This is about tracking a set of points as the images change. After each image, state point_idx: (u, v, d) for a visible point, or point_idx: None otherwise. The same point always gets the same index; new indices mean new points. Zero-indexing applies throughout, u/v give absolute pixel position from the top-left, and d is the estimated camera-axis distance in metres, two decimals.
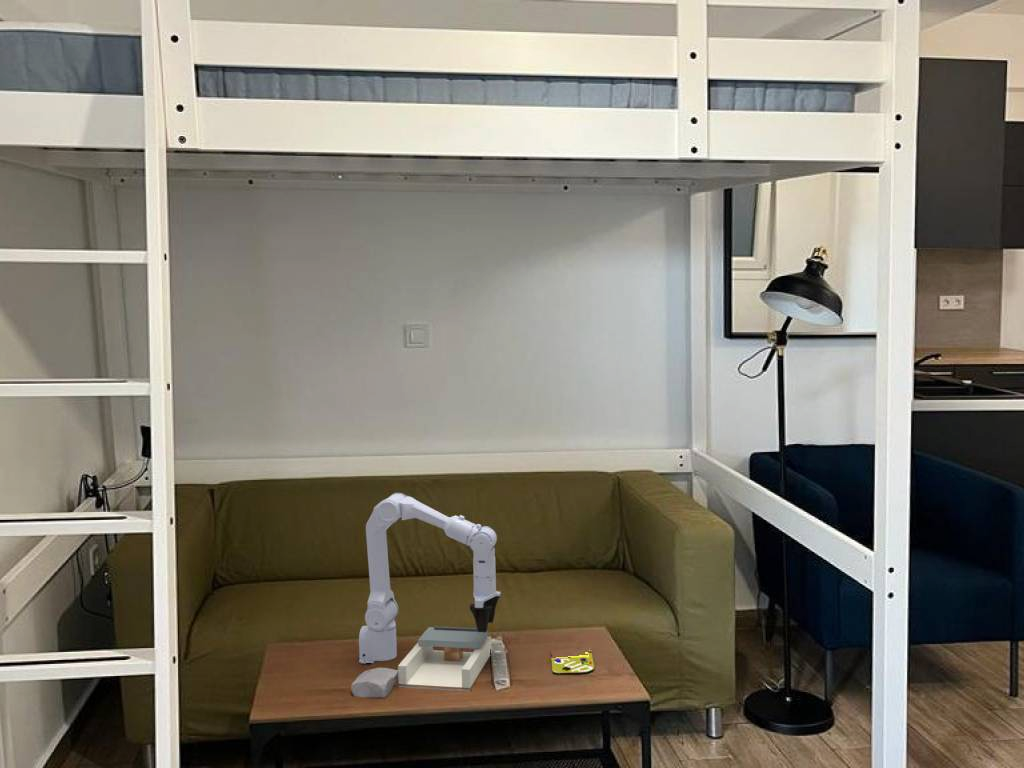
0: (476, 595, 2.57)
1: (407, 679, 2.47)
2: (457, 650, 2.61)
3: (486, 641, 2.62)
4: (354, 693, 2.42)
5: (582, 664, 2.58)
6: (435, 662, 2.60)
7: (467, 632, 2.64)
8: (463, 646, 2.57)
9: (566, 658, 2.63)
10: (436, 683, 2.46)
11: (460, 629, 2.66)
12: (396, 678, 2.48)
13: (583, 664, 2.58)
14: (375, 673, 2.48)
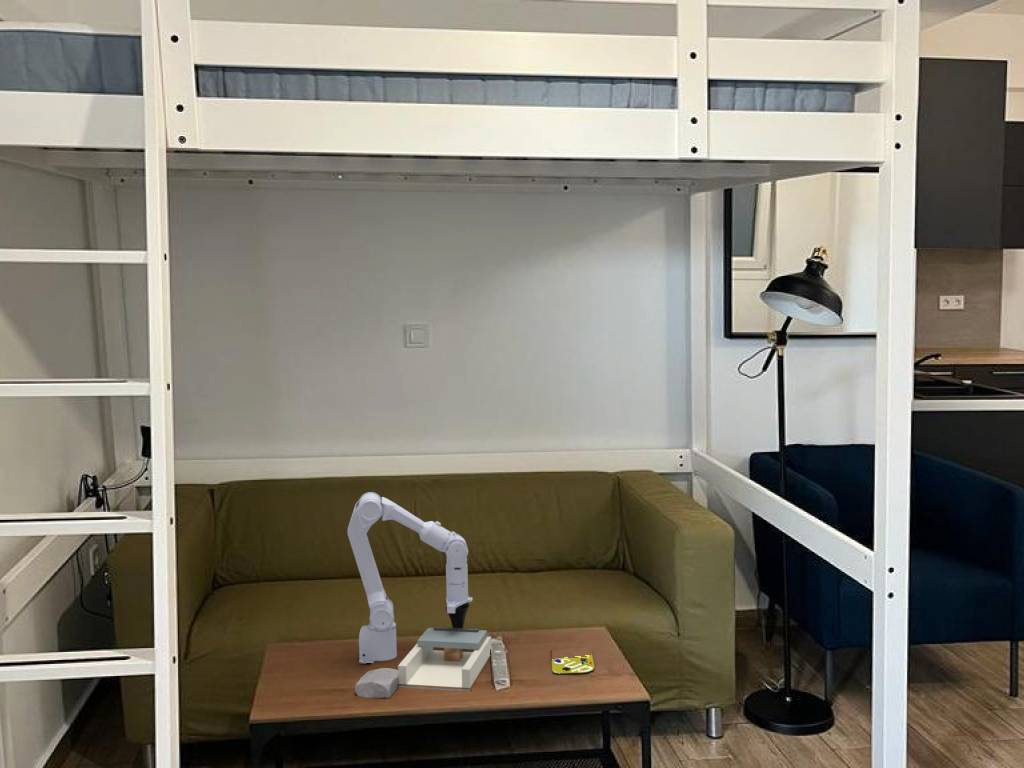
0: (449, 601, 2.65)
1: (407, 679, 2.47)
2: (457, 650, 2.61)
3: (486, 641, 2.62)
4: (358, 694, 2.42)
5: (582, 664, 2.58)
6: (435, 662, 2.60)
7: (466, 633, 2.64)
8: (462, 647, 2.57)
9: (566, 658, 2.63)
10: (436, 683, 2.46)
11: (459, 630, 2.65)
12: None
13: (583, 664, 2.58)
14: (379, 674, 2.48)
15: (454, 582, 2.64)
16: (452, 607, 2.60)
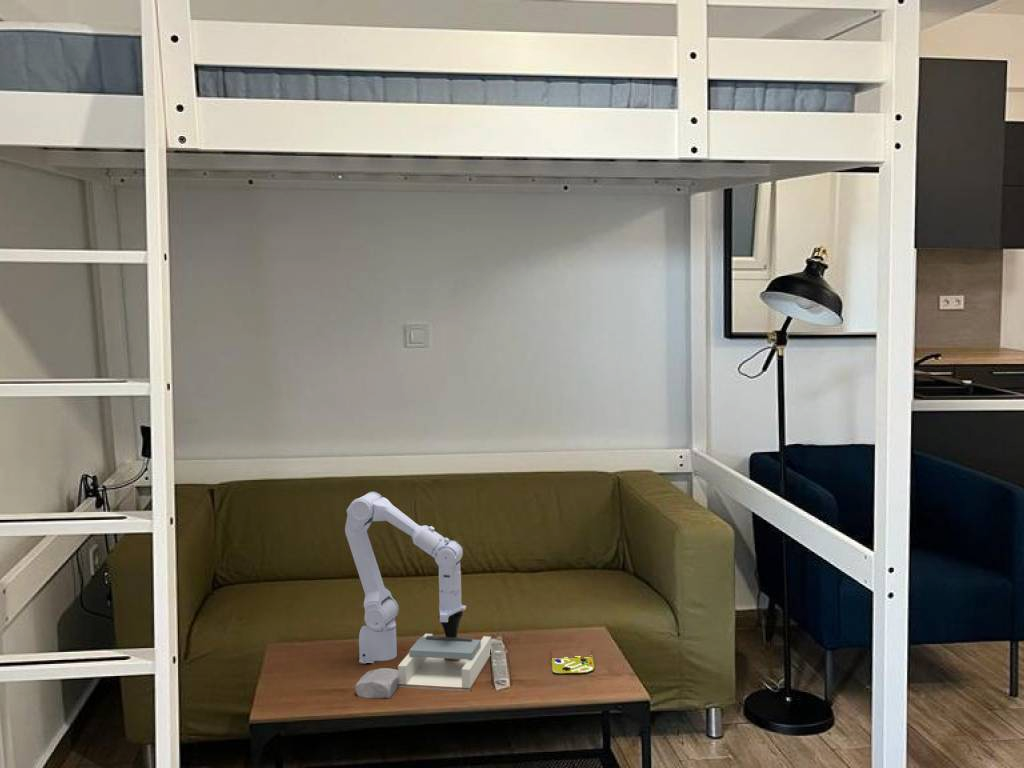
0: (441, 609, 2.58)
1: (407, 679, 2.47)
2: None
3: (486, 641, 2.62)
4: (358, 694, 2.42)
5: (582, 664, 2.58)
6: (435, 662, 2.60)
7: (459, 642, 2.57)
8: (455, 657, 2.50)
9: (566, 658, 2.63)
10: (436, 683, 2.46)
11: (453, 639, 2.58)
12: None
13: (583, 664, 2.58)
14: (379, 674, 2.47)
15: (443, 590, 2.57)
16: (445, 616, 2.53)
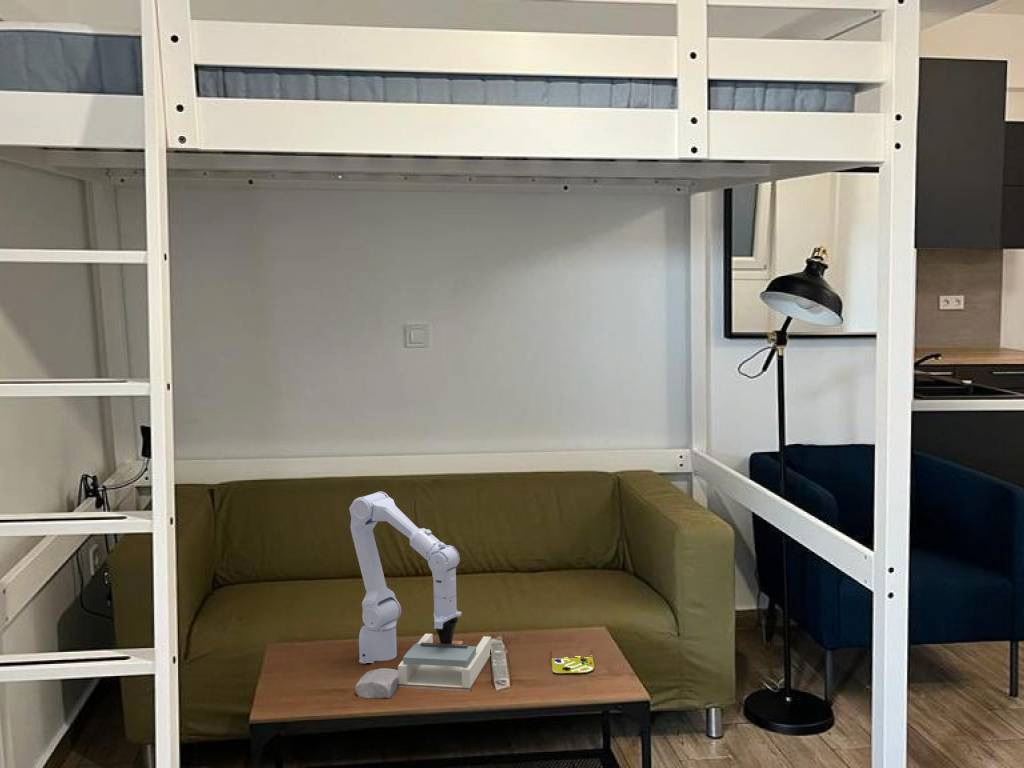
0: (436, 615, 2.53)
1: (407, 679, 2.47)
2: None
3: (486, 641, 2.62)
4: (359, 694, 2.42)
5: (582, 664, 2.58)
6: None
7: (454, 649, 2.52)
8: (450, 664, 2.45)
9: (566, 658, 2.63)
10: (436, 683, 2.46)
11: (447, 646, 2.53)
12: None
13: (583, 664, 2.58)
14: (379, 674, 2.47)
15: (436, 595, 2.53)
16: (439, 622, 2.48)
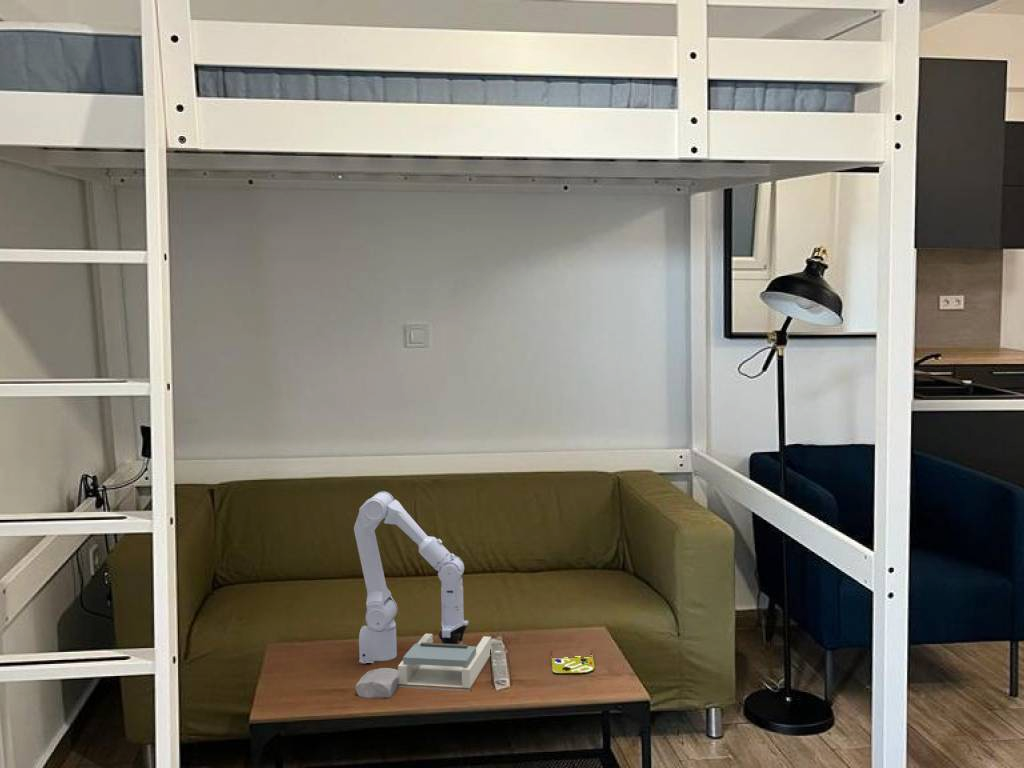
0: (444, 624, 2.60)
1: (407, 679, 2.47)
2: None
3: (486, 641, 2.62)
4: (359, 693, 2.42)
5: (582, 664, 2.58)
6: None
7: (454, 649, 2.52)
8: (450, 664, 2.45)
9: (566, 658, 2.63)
10: (436, 683, 2.46)
11: (447, 646, 2.53)
12: None
13: (583, 664, 2.58)
14: (379, 673, 2.48)
15: (447, 605, 2.60)
16: (447, 631, 2.55)
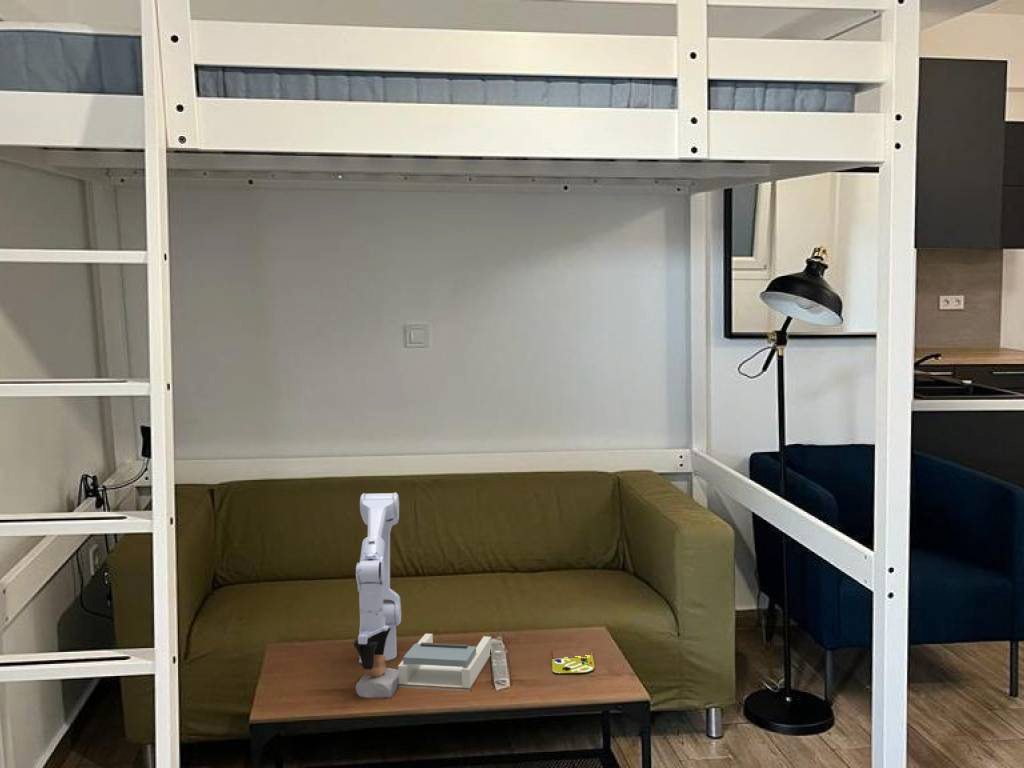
0: (362, 630, 2.43)
1: (407, 679, 2.47)
2: (378, 665, 2.44)
3: (486, 641, 2.62)
4: (359, 694, 2.42)
5: (582, 664, 2.58)
6: None
7: (454, 649, 2.52)
8: (450, 664, 2.45)
9: (567, 658, 2.63)
10: (436, 683, 2.46)
11: (447, 646, 2.53)
12: None
13: (583, 664, 2.58)
14: None
15: None
16: (363, 637, 2.38)
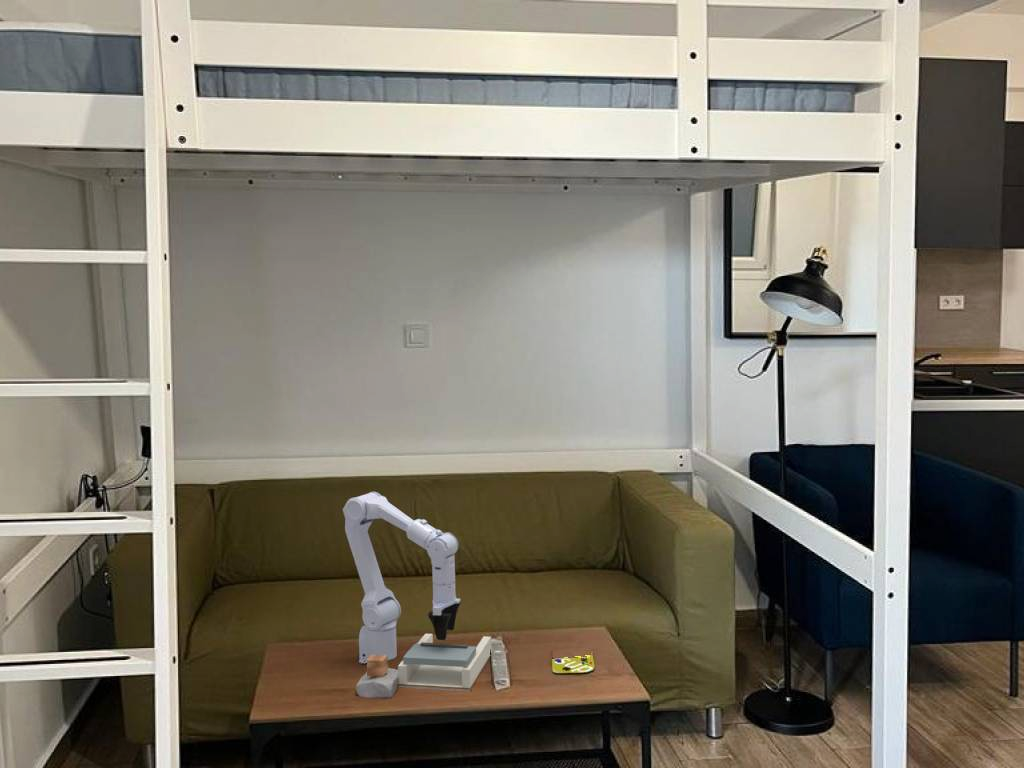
0: (435, 602, 2.54)
1: (407, 679, 2.47)
2: (380, 665, 2.44)
3: (486, 641, 2.62)
4: (359, 694, 2.42)
5: (582, 664, 2.58)
6: None
7: (454, 649, 2.52)
8: (450, 664, 2.45)
9: (567, 658, 2.63)
10: (436, 683, 2.46)
11: (447, 646, 2.53)
12: None
13: (583, 664, 2.58)
14: None
15: (435, 582, 2.53)
16: (438, 609, 2.49)
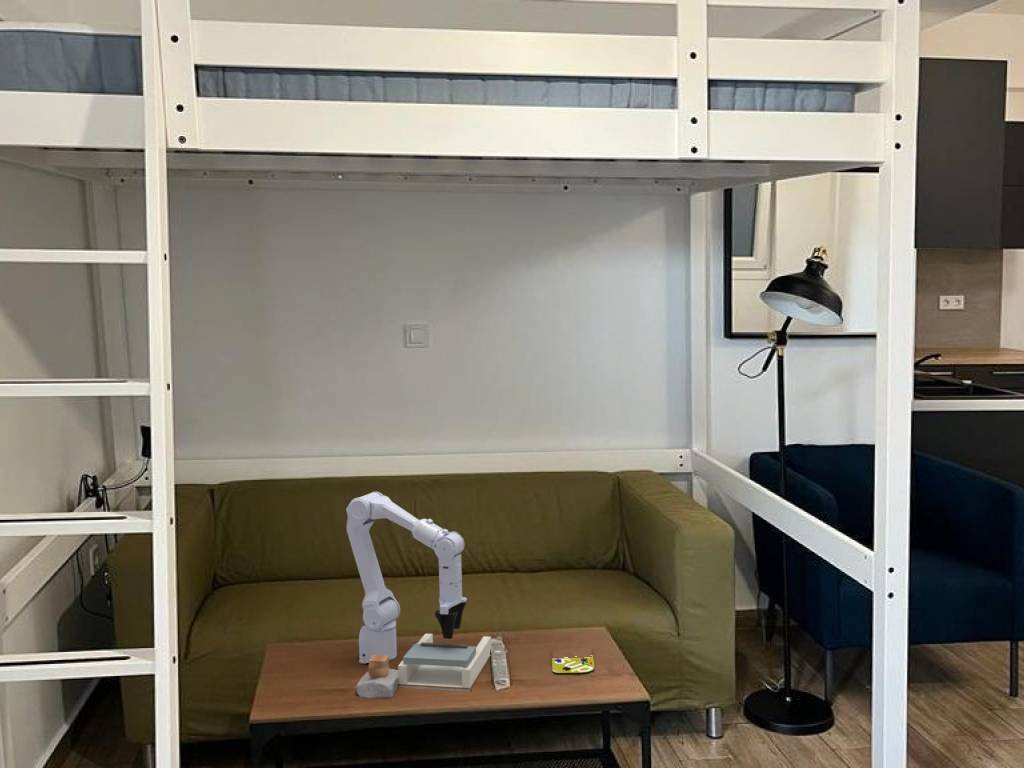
0: (442, 601, 2.55)
1: (407, 679, 2.47)
2: (383, 665, 2.44)
3: (486, 641, 2.62)
4: (360, 694, 2.42)
5: (582, 664, 2.58)
6: None
7: (454, 649, 2.52)
8: (450, 664, 2.45)
9: (567, 658, 2.63)
10: (436, 683, 2.46)
11: (447, 646, 2.53)
12: None
13: (583, 664, 2.58)
14: None
15: (442, 581, 2.54)
16: (445, 608, 2.50)
